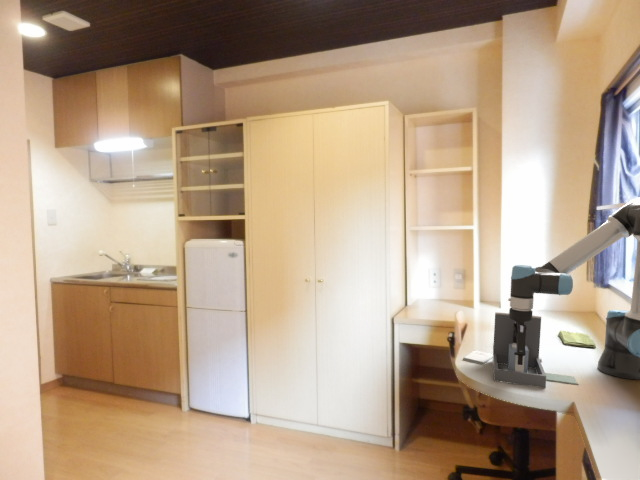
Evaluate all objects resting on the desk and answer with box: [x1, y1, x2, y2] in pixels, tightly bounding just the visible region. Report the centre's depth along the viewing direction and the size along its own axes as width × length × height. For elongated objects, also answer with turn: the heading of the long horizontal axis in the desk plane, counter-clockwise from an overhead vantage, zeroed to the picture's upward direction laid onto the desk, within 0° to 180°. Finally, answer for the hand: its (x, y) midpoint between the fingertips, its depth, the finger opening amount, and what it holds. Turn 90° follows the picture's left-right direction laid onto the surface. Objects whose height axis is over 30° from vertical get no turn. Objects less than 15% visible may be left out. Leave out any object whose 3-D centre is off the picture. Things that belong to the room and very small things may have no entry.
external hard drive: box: [462, 350, 493, 366], centre depth 179 cm, size 2×8×12 cm
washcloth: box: [557, 330, 597, 349], centre depth 205 cm, size 13×18×3 cm
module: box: [507, 344, 529, 373], centre depth 162 cm, size 6×6×10 cm
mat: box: [545, 372, 579, 386], centre depth 159 cm, size 10×7×1 cm
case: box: [492, 311, 547, 389], centre depth 162 cm, size 17×21×20 cm
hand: (517, 366), depth 162 cm, fingers open, 13 cm apart
